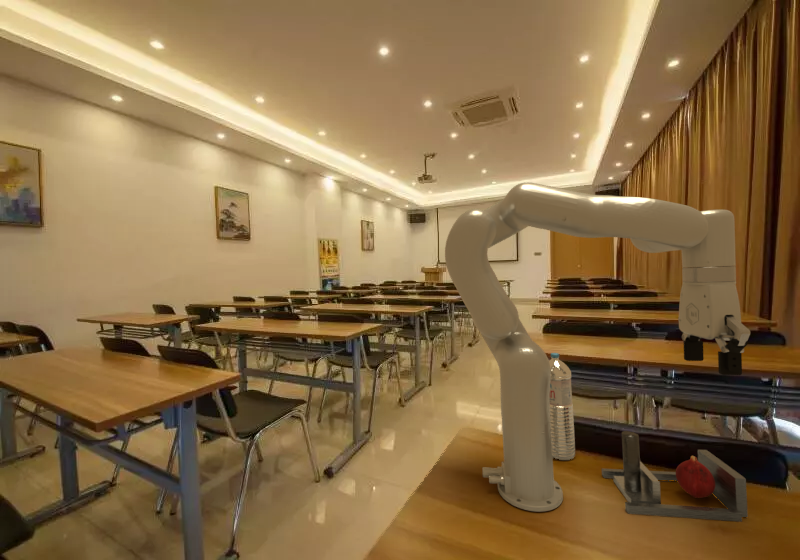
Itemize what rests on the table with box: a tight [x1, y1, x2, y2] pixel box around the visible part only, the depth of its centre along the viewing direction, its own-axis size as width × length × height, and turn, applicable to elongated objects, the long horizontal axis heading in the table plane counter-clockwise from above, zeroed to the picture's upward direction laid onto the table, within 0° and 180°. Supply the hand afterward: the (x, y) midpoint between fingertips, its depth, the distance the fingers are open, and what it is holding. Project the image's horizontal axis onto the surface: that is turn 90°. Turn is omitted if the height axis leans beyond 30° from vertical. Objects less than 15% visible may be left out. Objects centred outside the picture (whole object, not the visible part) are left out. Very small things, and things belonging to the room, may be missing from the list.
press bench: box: [601, 449, 749, 522], centre depth 67 cm, size 20×12×7 cm, turn 79°
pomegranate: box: [675, 455, 715, 499], centre depth 66 cm, size 6×6×8 cm
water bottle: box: [548, 352, 576, 461], centre depth 84 cm, size 7×7×25 cm
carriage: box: [612, 430, 662, 504], centre depth 68 cm, size 5×8×12 cm, turn 169°
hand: (710, 366), depth 65 cm, fingers open, 9 cm apart
